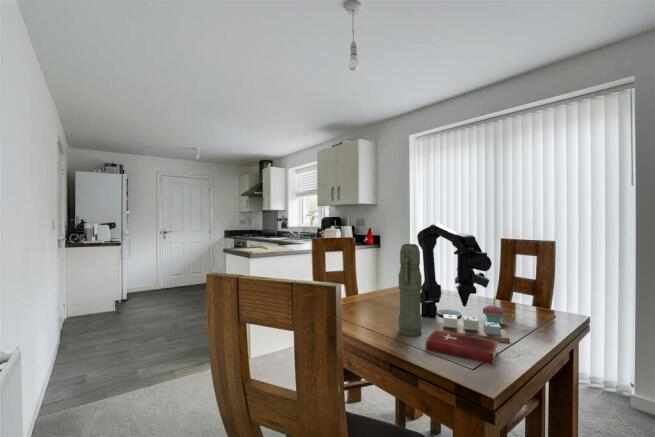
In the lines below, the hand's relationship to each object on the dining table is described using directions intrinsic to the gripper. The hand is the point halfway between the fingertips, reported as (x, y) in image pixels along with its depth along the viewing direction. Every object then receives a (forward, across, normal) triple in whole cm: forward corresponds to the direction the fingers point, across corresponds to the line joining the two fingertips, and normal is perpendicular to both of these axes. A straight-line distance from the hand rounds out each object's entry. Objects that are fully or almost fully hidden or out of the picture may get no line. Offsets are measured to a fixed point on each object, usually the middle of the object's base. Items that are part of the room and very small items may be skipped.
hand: (464, 306), depth 125 cm
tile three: (+9, -1, -10) cm, 13 cm away
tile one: (+8, 0, +5) cm, 9 cm away
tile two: (+8, -1, -2) cm, 8 cm away
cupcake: (+11, +18, -13) cm, 25 cm away
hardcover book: (+11, -19, +3) cm, 22 cm away
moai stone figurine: (+11, -7, +20) cm, 24 cm away
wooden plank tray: (+10, -1, -2) cm, 11 cm away
